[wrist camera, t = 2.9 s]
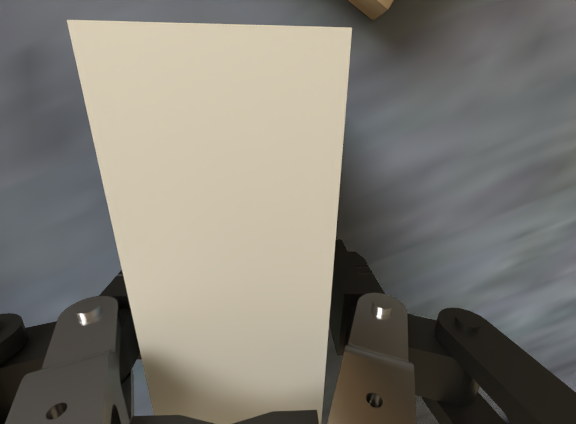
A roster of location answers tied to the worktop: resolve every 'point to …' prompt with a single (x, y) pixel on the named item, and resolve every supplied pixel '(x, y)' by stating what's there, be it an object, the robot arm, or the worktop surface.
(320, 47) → the cream rectangular block
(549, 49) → the worktop surface
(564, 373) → the worktop surface
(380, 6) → the wooden tray
